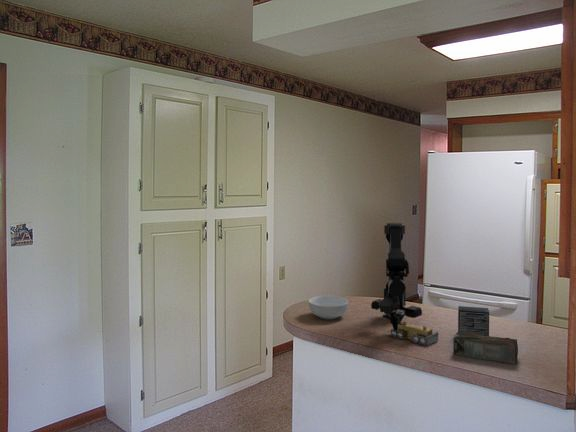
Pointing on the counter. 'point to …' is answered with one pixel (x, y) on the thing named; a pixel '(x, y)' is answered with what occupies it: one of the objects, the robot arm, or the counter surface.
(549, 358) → the counter surface
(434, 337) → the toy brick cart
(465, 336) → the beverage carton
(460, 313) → the small box
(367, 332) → the counter surface
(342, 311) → the cereal bowl
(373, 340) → the counter surface
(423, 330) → the brass block with pegs
